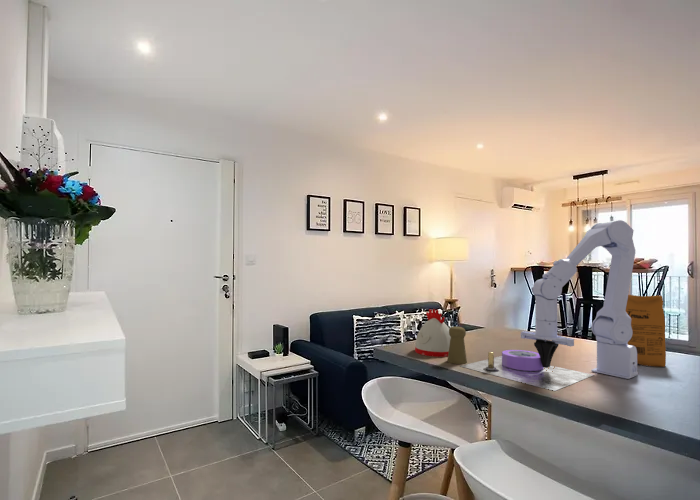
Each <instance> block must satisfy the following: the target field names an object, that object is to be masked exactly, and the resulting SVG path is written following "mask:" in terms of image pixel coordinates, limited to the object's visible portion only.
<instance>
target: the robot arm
mask: <svg viewBox="0 0 700 500" xmlns="http://www.w3.org/2000/svg"><path fill="white" fill-rule="evenodd" d="M634 231H635V230H634V229H633V228H632V227H631V226H630V225H629V223H628V222H627V221H624V220H622V219H618V220H617V219H616V220H614V221H609V222H603V223H602V222H599V223H598V222H597V223H595V224H594V225H592V227H591V228H590V229H588V230H587V231H586V232H585V235H584V236H583V238H582V239H581V240H580V241H579V243H577V245H576V246H575V248H573V250H572V251H571V252H570V253H569V254H568V256H567V257H566V258H562V259H558V260H555V261H553V263H552V264H553V266H552V267H551V268H550V269H549V270H548V271H547V272H546V273H543V274H542V278H540V279H537V280H536V281H534V283H533V286H532V287H531V289H530V290H531V293H532V295H534V297H535V307H534V308H535V315H534V316H535V319H534V321H535V331H534V332H533V331H526V330H525V331H524V330H523V331H520V339H524V340H525V339H526V340H532V341H533V340H534V341H535V342H533V345H534V348H535V349H536V350H537V353H539V355H540V358H541V362H542V366H543V367H545V368H548V367H550V366H551V362H552V359H553V357H554V354H555V352H556V350H557V349H558V347H559V345H564V346H566V347H575V338H571V337H565V336H561V335H558V298H559V297H560V296H561V295H562V292H563V287H564V286H565V285H566V284H567V283H568V282H569V281H570V280H571V279H572V277H573V276H574V275H576V274H577V271H578V268H577V266H578V265H579V264H580V263H581V262H582V261H583V260H585V258H587V256H589V254H591V253H592V252H593V251H594V250H595V249H596V248H599V247H602V248H604V249H605V250H606V251H608V253H609V254H610V255H611V259H610V266H609V270H608V271H609V272H608V276H607V283H606V289H605V296H604V300H603V306H602V307H601V308H600V309H599V310H598V311H597V312H596V316H595V319H594V320H593V321H592V323H591V332H592V334H593V335H594V336H595V340H596V367H594V368H592V369H591V370H590V371H591V372H593V373H598V374H602V375H603V374H604V375H607V376H612V377H617V378H621V379H628V380H630V379H631V378H634V377H636V376H638V375H639V373H638V364H637V349H636V347H635V346H632V345H628V341H629V340H630V339H631V337H632V334H633V331H632V327H631V318H630V316H629V315H628V314H627V313H626V305H627V299H628V295H629V293H630V286H631V281H632V274H633V269H634V263H635V257H636V247H635V245H634V240H633V236H634Z"/></svg>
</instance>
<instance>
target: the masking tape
mask: <svg viewBox="0 0 700 500" xmlns="http://www.w3.org/2000/svg"><path fill="white" fill-rule="evenodd" d="M501 356H502V365H503V366H505V367H508V368H511V369H516V370H524V371H539V370H542V369H544V367H543V366H542V362H541V358H540V355H539V353H538V352H535V351H532V350H524V349H522V350H521V349H507V350H502V351H501Z"/></svg>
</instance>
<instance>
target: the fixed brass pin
mask: <svg viewBox="0 0 700 500" xmlns="http://www.w3.org/2000/svg"><path fill="white" fill-rule="evenodd" d="M487 355H488V356H487V357H488V358H487V359H488V367H486V370H488V371H496V368H495V367H494V358H495V352H493V351H488V352H487Z"/></svg>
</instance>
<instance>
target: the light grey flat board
mask: <svg viewBox="0 0 700 500" xmlns="http://www.w3.org/2000/svg"><path fill="white" fill-rule="evenodd" d="M459 367H461V368H465V369H468V370H472V371H477V372H481V373H483V374H488V375H491V376H495V377H499V378H502V379H507V380H510V381H513V382H514V381H515V382H519V383H521V382H522V384H525V383H526V385H530V386H534V387H537V388H541V389H544V388H545V390H548V389H549V390H548V391H552V390H553V392H556V391H559V390H561V389H564V388H565V387H566V388H567V387H569V386H571V385H573V384H576V383H579V382H580V381H583V380H585V379H588V378H591V377H594V374H591V373H587V372H583V371H577V370H573V369H569V368H564V367H560V366H555V368H554V365H550V367H549V369H548V368H545V367H544V368H545V369H542V370H539V371H524V370H516V369H511V368H508V367H505V366H503V365H502V355H500V356H496V357H495V356H494V367H495V368H496V371H488V370H486V367H488V358H487V359H483V360H479V361H475V362H471V363H466V364H461V365H459ZM553 368H554V369H553ZM546 370H547V371H546ZM552 371H553V372H552Z"/></svg>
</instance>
